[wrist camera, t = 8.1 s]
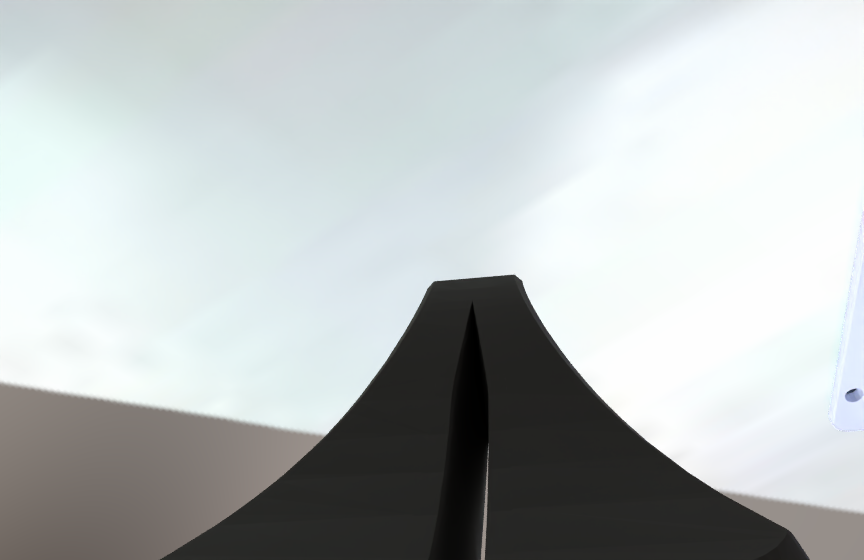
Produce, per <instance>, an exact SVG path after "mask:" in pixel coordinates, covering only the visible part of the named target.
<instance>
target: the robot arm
mask: <svg viewBox="0 0 864 560" xmlns="http://www.w3.org/2000/svg"><path fill="white" fill-rule="evenodd" d="M855 388H856V390H855V391H854V392H852V393H849V394H846V393H847V392H848V391H849V390H851V389H855ZM828 416H829V420H830V422H831V423H832V425H833V426H834V428H835V429H837V430H839V431H862V430H864V208H863V214H862V220H861V225H860V231H859V237H858V243H857V249H856V255H855V261H854V266H853V272H852V278H851V284H850V290H849V296H848V302H847V308H846V313H845V319H844V325H843V331H842V337H841V343H840V349H839V354H838V360H837V366H836V372H835V378H834V384H833V390H832V395H831V401H830V407H829V413H828ZM488 443H489V448H488ZM487 459H488V461H489V462H488V504H487V528H486V548H485V549H486V550H485V560H810V559H809V558H808V556H807V555H806V553H805V552H804V550H803V549H802V547H801V546H800V544H799V543H798V541H797V540H796V539H795V537H794V535H793V534H792V533H791V532H790V531H789V530H787V529H786V528H784V527H782V526H780V525H778V524H776V523H774V522H772V521H771V520H769V519H767V518H765V517H763V516H761V515H759V514H758V513H755V512H754V511H752V510H750V509H748V508H746V507H744V506H742V505H741V504H739V503H737V502H735V501H733V500H732V499H730V498H728V497H726V496H724V495H723V494H721V493H719V492H718V491H716V490H714V489H713V488H711V487H710V486H708V485H707V484H705V483H704V482H702V481H701V480H699V479H697V478H696V477H694V476H693V475H691V474H690V473H688V472H687V471H686V470H684V469H683V468H682V467H680V466H679V465H678V464H676V463H675V462H674V461H672V460H671V459H670V458H668V457H667V456H666V455H664V454H663V453H662V452H660V451H659V450H658V449H656V448H655V447H654V446H652V445H651V444H650V443H649V442H647V441H646V440H645V439H644V438H643V437H642V436H640V435H639V434H638V433H637V432H636V431H635V430H634V429H633V428H631V427H630V426H629V425H628V424H627V423H626V422H625V421H624V420H622V419H621V418H620V417H619V416H618V415H617V414H616V413H615V412H614V411H613V410H612V409H611V408H610V407H609V406H608V405H607V404H606V403H605V402H604V401H603V400H602V399H601V398H600V397H599V396H598V394H597V393H596V392H595V391H594V390H593V389H592V388H591V387H590V386H589V385H588V383H587V382H586V381H585V380H584V379H583V377H582V376H581V375H580V374H579V373H578V372H577V370H576V369H575V368H574V367H573V366H572V364H571V363H570V362H569V360H568V359H567V358H566V356H565V355H564V354H563V353H562V351H561V350H560V348H559V347H558V345H557V344H556V343H555V341H554V340H553V338H552V337H551V335H550V334H549V333H548V331H547V330H546V328H545V327H544V325H543V323H542V322H541V320H540V318H539V317H538V315H537V313H536V312H535V310H534V308H533V306H532V304H531V302H530V300H529V298H528V296H527V294H526V292H525V289H524V286H523V283H522V280H520V279H519V278H518V277H517V276H515V275H505V276H493V277H481V278H469V279H458V280H446V281H434V282H433V283H432V284H431V286H430V287H429V288H428V289H427V291H426V294H425V296H424V298H423V300H422V302H421V304H420V306H419V308H418V310H417V311H416V313H415V315H414V317H413V319H412V320H411V322H410V324H409V326H408V327H407V329H406V331H405V333H404V334H403V336H402V337H401V339H400V340H399V342H398V344H397V345H396V347H395V348H394V350H393V351H392V353H391V355H390V356H389V358H388V359H387V361H386V362H385V364H384V365H383V366H382V368H381V369H380V370H379V372H378V373H377V375H376V376H375V377H374V379H373V380H372V381H371V383H370V384H369V385H368V387H367V388H366V389H365V391H364V392H363V393H362V395H361V396H360V397H359V398H358V400H357V401H356V402H355V403H354V405H353V406H352V407H351V408H350V409H349V411H348V412H347V413H346V414H345V415H344V416H343V417H342V419H341V420H340V421H339V422H338V423H337V424H336V425H335V426H334V427H333V428H332V430H331V431H330V432H329V433H328V434H327V435H326V436H325V437H324V438H323V439H322V440H321V441H320V442H319V443H318V444H317V445H316V446H315V447H314V448H313V449H312V450H311V451H310V452H308V453H307V454H306V455H305V456H304V457H303V458H302V459H301V460H300V461H298V462H297V464H295V465H294V466H293V467H292V468H291V469H290V470H289V471H287V472H286V473H285V474H284V475H283V476H282V477H281V478H279V479H278V480H277V481H276V482H274V483H273V484H272V485H271V486H269V487H268V488H267V489H266V490H264V491H263V492H262V493H260V494H259V495H258V496H256V497H255V498H254V499H252V500H251V501H250V502H248V503H247V504H246V505H244V506H243V507H241V508H240V509H239V510H237V511H236V512H234V513H233V514H232V515H230V516H229V517H227V518H226V519H224V520H223V521H221V522H220V523H219V524H217V525H216V526H214V527H212V528H211V529H209V530H208V531H206V532H204V533H203V534H201V535H200V536H198V537H196V538H195V539H193V540H191V541H190V542H188V543H187V544H185V545H183V546H182V547H180V548H178V549H177V550H175V551H174V552H172V553H171V554H169V555H167V556H166V557H164V558H162V559H160V560H481V547H482V532H483V518H484V503H485V489H486V473H487Z"/></svg>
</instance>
